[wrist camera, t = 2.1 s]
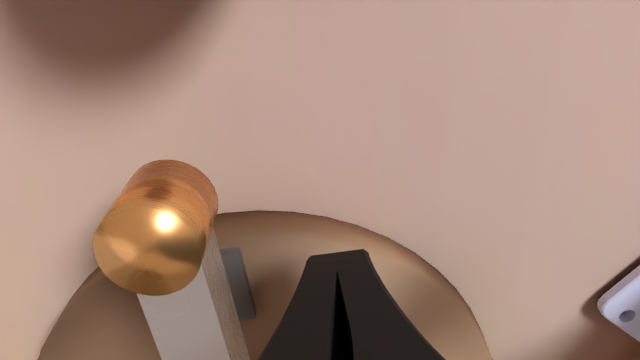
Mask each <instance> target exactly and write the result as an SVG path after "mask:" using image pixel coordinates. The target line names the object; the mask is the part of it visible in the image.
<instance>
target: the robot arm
mask: <svg viewBox="0 0 640 360" xmlns="http://www.w3.org/2000/svg"><path fill="white" fill-rule="evenodd" d="M597 307H598V310H599V311H600V312H601V314H602V315H603V316H604V317H605V318H606V319H607V320H609V321H610V322H612V323H613V324H614V325H616V326H617V327H619V328H620V329H622V330H623V331H624V332H626V333H627V334H629V335H630V336H632V337H633V338H635V339H636V340H637V341H639V342H640V265H639V266H638V267H637V268H635V269H634V270H633V271H632V272H630V273H629V274H628V275H627V276H626V277H624V278H623V279H622V280H621V281H619V282H618V283H617V284H616V285H614V286H613V287H612V288H611V289H609V290H608V291H607V292H606V293H605V294H603V295H602V296H601V297H600V299H599V300H598V303H597ZM626 310H627V312H625V313H623V314H621V313H622V312H624V311H626ZM257 360H446V359H445V358H444V357H443V356H442V355H441V354H440V353H439V352H438V351H437V350H436V349H435V348H434V347H433V346H432V345H431V344H430V343H429V342H428V341H427V340H426V339H425V338H424V336H423V335H422V334H421V333H420V332H419V331H418V330H417V328H416V327H415V326H414V325H413V324H412V322H411V321H410V320H409V319H408V317H407V316H406V315H405V314H404V312H403V311H402V310H401V308H400V307H399V306H398V304H397V303H396V301H395V300H394V298H393V297H392V296H391V294H390V293H389V291H388V290H387V288H386V287H385V285H384V284H383V282H382V280H381V278H380V277H379V275H378V273H377V271H376V269H375V268H374V265H373V263H372V261H371V259H370V256H369V252H367V251H366V250H364V249H358V250H351V251H343V252H335V253H328V254H320V255H312V256H310V257H309V258H308V259H307V261H306V265H305V268H304V271H303V273H302V276H301V279H300V281H299V284H298V286H297V288H296V291H295V293H294V295H293V297H292V299H291V301H290V303H289V305H288V307H287V309H286V311H285V314H284V316H283V317H282V319H281V321H280V323H279V325H278V326H277V328H276V330H275V332H274V333H273V335H272V337H271V339H270V340H269V342H268V344H267V345H266V347H265V349H264V350H263V352H262V353H261V355H260V356H259V358H258V359H257Z"/></svg>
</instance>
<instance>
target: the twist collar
mask: <svg viewBox="0 0 640 360" xmlns="http://www.w3.org/2000/svg"><path fill="white" fill-rule="evenodd" d="M217 211H218V198H217V193H216V191H215V188H214V186H213V184H212V183H211V182H210V180H209V179H208V178H207V177H206V176H205V175H204V174H203V173H202V172H201V171H199V170H198V169H197V168H195V167H193V166H191V165H189V164H187V163H184V162H180V161H175V160H158V161H154V162H151V163H148V164H146V165H144V166H142V167H141V168H139V169H138V170H137V171H136V172H135V173H134V174H133V176H132V177H131V179H130V180H129V182H128V183H127V184H126V186H125V187H124V189H123V190H122V192H121V193H120V195H119V196H118V198H117V199H116V201H115V202H114V204H113V205H112V207H111V208H110V210H109V211H108V213H107V214H106V216H105V217H104V219H103V220H102V222H101V223H100V225H99V226H98V228H97V230H96V232H95V235H94V239H93V252H94V256H95V259H96V262H97V264H98V266H99V267H100V269H101V270H102V272H103V273H104V274H105V275H106V276H107V277H108V278H109V279H110V280H111V281H113V282H114V283H115V284H117V285H118V286H120V287H122V288H124V289H126V290H128V291H131V292H134V293H136V294H137V296H138V299H139V301H140V304H141V307H142V309H143V312H144V314H145V317H146V320H147V322H148V325H149V328H150V330H151V333H152V335H153V338H154V341H155V343H156V346H157V348H158V351H159V354H160V356H161V359H162V360H250V358H249V354H248V350H247V347H246V343H245V340H244V336H243V333H242V329H241V325H240V322H239V318H238V315H237V311H236V308H235V304H234V300H233V297H232V293H231V290H230V286H229V282H228V279H227V275H226V272H225V268H224V265H223V261H222V257H221V254H220V250H219V247H218V243H217V240H216V236H215V232H214V229H213V224H214V221H215V218H216V214H217Z"/></svg>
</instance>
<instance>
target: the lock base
mask: <svg viewBox="0 0 640 360" xmlns="http://www.w3.org/2000/svg"><path fill="white" fill-rule="evenodd" d="M213 229H214V232H215V236H216V240H217V243H218V247H219V250H220V254H221V257H222V261H223V265H224V268H225V272H226V275H227V279H228V282H229V286H230V290H231V293H232V297H233V300H234V304H235V308H236V311H237V315H238V318H239V322H240V325H241V329H242V333H243V336H244V340H245V343H246V347H247V350H248V354H249V358H250V360H257V359H258V358H259V356H260V355H261V353H262V352H263V350H264V349H265V347H266V345H267V344H268V342H269V340H270V339H271V337H272V335H273V333H274V332H275V330H276V328H277V326H278V325H279V323H280V321H281V319H282V317H283V316H284V314H285V311H286V309H287V307H288V305H289V303H290V301H291V299H292V297H293V295H294V293H295V291H296V288H297V286H298V284H299V281H300V279H301V276H302V273H303V271H304V268H305V265H306V261H307V259H308V258H309V257H310V256H312V255H320V254H328V253H335V252H343V251H351V250H358V249H364V250H366V251H367V252H369V256H370V259H371V261H372V263H373V265H374V268H375V269H376V271H377V273H378V275H379V277H380V278H381V280H382V282H383V284H384V285H385V287H386V288H387V290H388V291H389V293H390V294H391V296H392V297H393V298H394V300H395V301H396V303H397V304H398V306H399V307H400V308H401V310H402V311H403V312H404V314H405V315H406V316H407V317H408V319H409V320H410V321H411V322H412V324H413V325H414V326H415V327H416V328H417V330H418V331H419V332H420V333H421V334H422V335H423V336H424V338H425V339H426V340H427V341H428V342H429V343H430V344H431V345H432V346H433V347H434V348H435V349H436V350H437V351H438V352H439V353H440V354H441V355H442V356H443V357H444V358H445V359H446V360H493V359H492V357H491V354H490V352H489V349H488V347H487V344H486V342H485V339H484V337H483V334H482V332H481V329H480V327H479V325H478V323H477V321H476V319H475V317H474V315H473V313H472V311H471V309H470V307H469V306H468V305H467V303H466V302H465V300H464V299H463V298H462V296H461V295H460V293H459V292H458V291H457V289H456V288H455V287H454V286H453V285H452V284H451V283H450V282H449V281H448V280H447V279H446V278H445V277H444V276H443V275H442V274H441V273H440V272H439V271H438V270H437V269H436V268H434V267H433V266H432V265H430V264H429V263H428V262H426V261H425V260H424V259H422V258H421V257H420V256H419V255H417V254H416V253H415V252H413V251H411V250H409V249H407V248H406V247H404V246H402V245H400V244H398V243H397V242H395V241H393V240H391V239H390V238H388V237H385V236H383V235H380V234H378V233H375V232H373V231H370V230H368V229H365V228H363V227H360V226H358V225H354V224H350V223H347V222H343V221H339V220H336V219H332V218H328V217H323V216H317V215H310V214H304V213H297V212H283V211H246V212H232V213H222V214H217V215H216V218H215V221H214V224H213ZM38 360H162V359H161V356H160V354H159V351H158V348H157V346H156V343H155V341H154V338H153V335H152V333H151V330H150V328H149V325H148V322H147V320H146V317H145V314H144V312H143V309H142V307H141V304H140V301H139V299H138V296H137V294H136V293H134V292H131V291H128V290H126V289H124V288H122V287H120V286H118V285H117V284H115V283H114V282H113V281H111V280H110V279H109V278H108V277H107V276H106V275H105V274H104V273H103V272H102V270H101V269H100V267H99V268H97V269H96V270H95V271H94V272H93V273H92V274H91V275H90V276H89V277H88V278H87V279H86V280H85V282H84V283H83V284H82V285H81V286H80V288H79V289H78V290H77V291H76V293H75V294H74V295H73V297H72V298H71V300H70V301H69V303H68V305H67V306H66V308H65V310H64V311H63V313H62V314H61V316H60V318H59V319H58V321H57V323H56V324H55V326H54V328H53V329H52V331H51V333H50V335H49V337H48V338H47V340H46V342H45V344H44V346H43V347H42V350H41V353H40V356H39V359H38Z"/></svg>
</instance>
